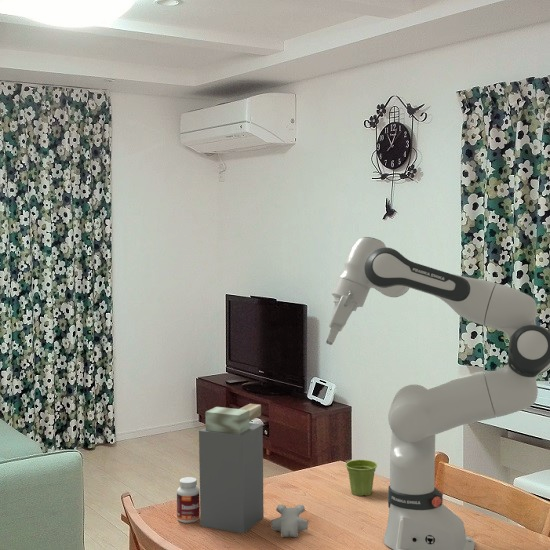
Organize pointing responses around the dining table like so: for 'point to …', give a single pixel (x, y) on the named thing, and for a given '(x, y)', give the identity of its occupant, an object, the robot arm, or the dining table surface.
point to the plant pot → (361, 476)
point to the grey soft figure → (290, 521)
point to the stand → (231, 479)
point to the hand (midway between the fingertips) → (329, 343)
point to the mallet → (231, 418)
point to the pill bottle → (188, 500)
